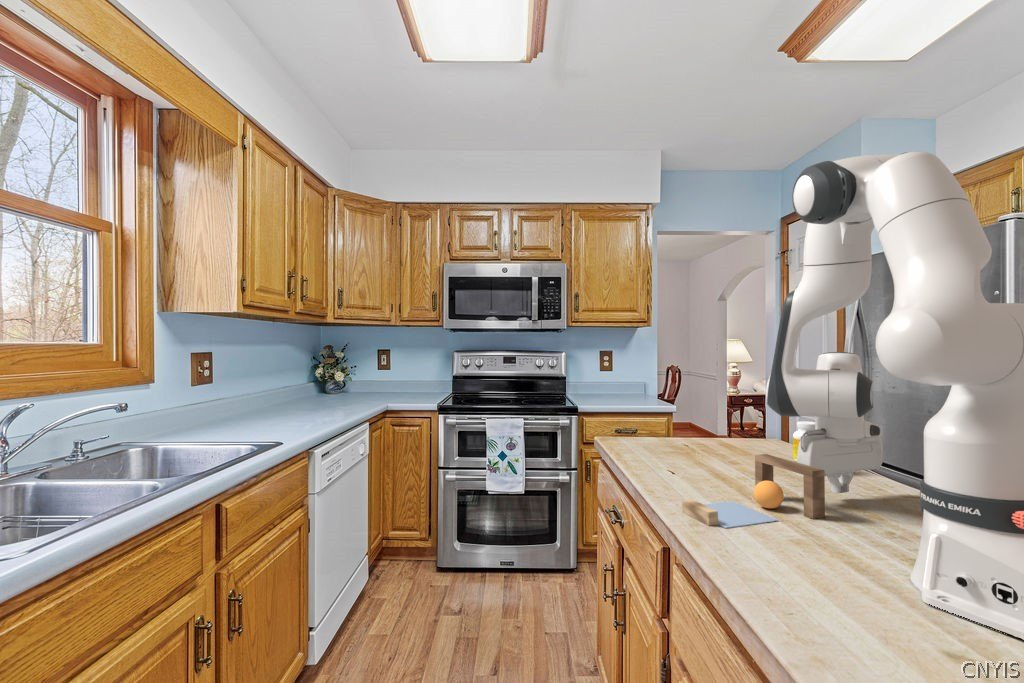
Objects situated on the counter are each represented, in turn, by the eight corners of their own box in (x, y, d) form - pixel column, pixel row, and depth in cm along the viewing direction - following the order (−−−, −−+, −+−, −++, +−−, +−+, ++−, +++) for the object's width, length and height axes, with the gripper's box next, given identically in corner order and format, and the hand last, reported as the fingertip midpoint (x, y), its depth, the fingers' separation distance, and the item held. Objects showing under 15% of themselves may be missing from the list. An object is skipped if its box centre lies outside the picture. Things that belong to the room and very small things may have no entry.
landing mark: (778, 521, 94) (778, 520, 94) (725, 528, 91) (725, 527, 91) (733, 501, 106) (733, 501, 106) (684, 507, 102) (684, 506, 102)
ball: (794, 498, 101) (780, 477, 100) (779, 517, 99) (765, 496, 98) (771, 492, 106) (758, 472, 105) (756, 510, 104) (743, 491, 103)
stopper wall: (718, 524, 93) (717, 511, 93) (708, 525, 92) (708, 512, 92) (690, 510, 100) (690, 498, 100) (682, 512, 100) (682, 499, 100)
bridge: (766, 495, 110) (766, 453, 110) (825, 517, 96) (824, 469, 96) (755, 497, 109) (755, 455, 109) (812, 519, 95) (812, 471, 95)
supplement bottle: (796, 474, 127) (795, 424, 127) (790, 468, 134) (790, 420, 134) (826, 476, 125) (825, 425, 125) (819, 469, 131) (818, 421, 132)
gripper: (814, 433, 101) (815, 501, 101) (888, 427, 106) (889, 491, 106) (788, 428, 107) (789, 492, 107) (860, 422, 113) (861, 484, 112)
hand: (840, 492), depth 107 cm, fingers closed
